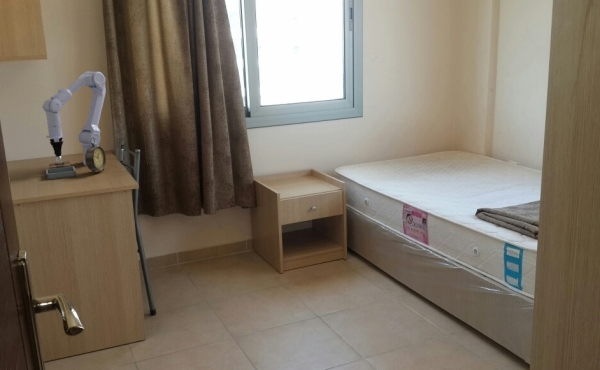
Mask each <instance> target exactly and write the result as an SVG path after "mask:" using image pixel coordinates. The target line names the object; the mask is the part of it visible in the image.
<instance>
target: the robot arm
mask: <svg viewBox="0 0 600 370" xmlns="http://www.w3.org/2000/svg"><path fill="white" fill-rule="evenodd" d="M106 80H107V79H106V77H105V75H104V74H103V73H102V72H101V71H88V70H87V71H85V72H83V73H82V74H80V75H79V77H78V78H77V79H76V80H74V82H73V83H71V84H70V85H69V86H68V87H66V88H62V89H61V88H60V89H58V90H57V93H55V94H54V95H52V96H50V99H49V98H48V99H46V100H44V101H43V104H42V106H41V107H42V109H43V111H44V112H45V117H46V124H47V129H48V135H46V136H45V137H46V139H48V138H49V144H50V145H51V147H52V149H53V153H54V152H55V154H54V155H55V158H56V157H59V156H61V157H62V154H61V151H62V149H63V145H64V141H63V136H64V135H63V132H62V131H63V129H62V123H61V122H62V121H61V114H60V111H62V107H63V106H64V105H66V103H68V102H69V101H71V99H72V97H73V94H75V93H76V92H78V91H79V90H80V89H82V88H83V87H85V86H87V87H89V88H90V90H91V91H92V93H93V94H92V98H91V102H90V105H89V111H88V114H87V120H86V124H85V125H84V126H83V127H82V128H81V130H80V132H79V134H78V141H79V143H81V145H82V151H83V152H82V153H83V161H82V162H83V165H84V166H87V165H86V161H85V154H86V151H87V149H88V148H89V147H92V144H91V142H92V143H94V140H95V143H94V146H95V147H96V146H99V144H100V143H101V129H100V128H99V124H100V120H101V115H102V110H103V107H104V102H105V97H106V93H107V90H106V88H107V87H106ZM92 137H93V138H94V139H93V138H92ZM91 138H92V140H91Z"/></svg>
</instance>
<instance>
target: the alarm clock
mask: <svg viewBox="0 0 600 370" xmlns="http://www.w3.org/2000/svg"><path fill="white" fill-rule="evenodd" d="M92 138H93V137H92ZM92 138H91V140H92ZM93 139H94V138H93ZM94 143H95V140H94ZM94 143H92V142H91V144H92V147H89V148H88V149H87V151H86V154H85V161H86V165H85V166H86V167H87V168H88V169H89V170H90V171H91V172H92V174H93V175H95V173H96V172H97V171H99V172H100V171H102V170H103V171H104V168H105V166H106V162H107V161H106V160H107V158H106V153H105V149H104V148H102V146H99V145H98V146H96V147H95V146H94Z"/></svg>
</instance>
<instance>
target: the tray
mask: <svg viewBox="0 0 600 370" xmlns="http://www.w3.org/2000/svg"><path fill="white" fill-rule="evenodd" d="M45 171H46V179H47V181H48V180H57V179H66V178H67V179H68V178H74V177H75V178H76V177H77V172H76V168H75V166H74V165H73V166H70V167H63V168H54V169H50V168H46V169H45Z"/></svg>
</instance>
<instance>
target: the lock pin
mask: <svg viewBox="0 0 600 370" xmlns="http://www.w3.org/2000/svg"><path fill="white" fill-rule="evenodd" d="M53 154H54V155H55V152H54V151H53ZM62 154H63V151H62V150H61V156H59V157H56V156H55V161H56V162H55V163H57V165H62V162H63V158H62Z"/></svg>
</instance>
